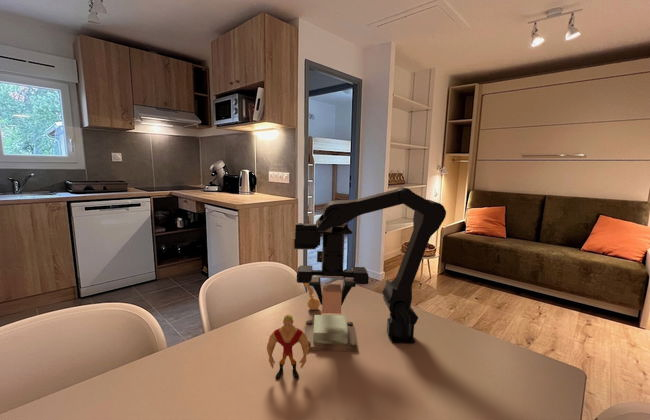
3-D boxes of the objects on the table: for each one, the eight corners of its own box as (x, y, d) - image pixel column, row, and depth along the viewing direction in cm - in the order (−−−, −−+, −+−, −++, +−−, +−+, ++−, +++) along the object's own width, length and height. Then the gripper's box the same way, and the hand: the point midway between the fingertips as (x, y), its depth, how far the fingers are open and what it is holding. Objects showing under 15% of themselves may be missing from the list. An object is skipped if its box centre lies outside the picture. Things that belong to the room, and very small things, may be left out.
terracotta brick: (339, 304, 83) (340, 284, 82) (340, 313, 79) (341, 292, 78) (322, 304, 83) (322, 283, 82) (322, 313, 78) (322, 291, 77)
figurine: (321, 315, 94) (322, 279, 92) (302, 316, 93) (303, 280, 91) (317, 302, 102) (318, 269, 100) (300, 303, 101) (300, 270, 99)
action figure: (265, 381, 65) (265, 318, 63) (267, 369, 69) (267, 310, 66) (308, 381, 66) (309, 318, 63) (308, 370, 69) (309, 310, 67)
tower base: (352, 325, 88) (353, 313, 88) (357, 351, 77) (358, 337, 76) (305, 324, 88) (306, 311, 88) (303, 350, 76) (303, 335, 76)
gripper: (364, 241, 86) (361, 292, 89) (300, 240, 86) (299, 290, 89) (370, 253, 75) (367, 310, 78) (296, 252, 75) (296, 309, 78)
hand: (331, 304), depth 81 cm, fingers closed on terracotta brick, 5 cm apart
